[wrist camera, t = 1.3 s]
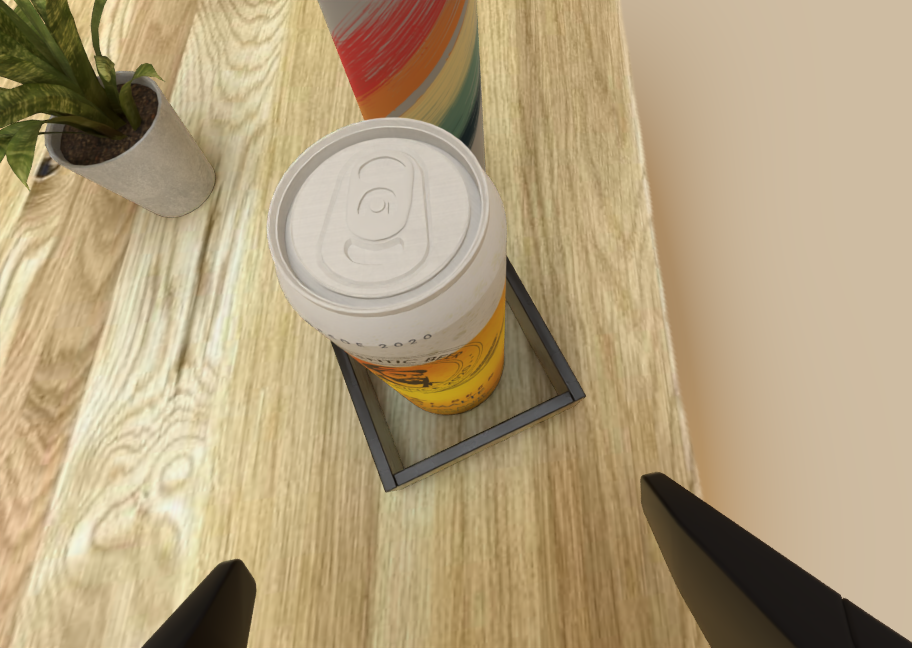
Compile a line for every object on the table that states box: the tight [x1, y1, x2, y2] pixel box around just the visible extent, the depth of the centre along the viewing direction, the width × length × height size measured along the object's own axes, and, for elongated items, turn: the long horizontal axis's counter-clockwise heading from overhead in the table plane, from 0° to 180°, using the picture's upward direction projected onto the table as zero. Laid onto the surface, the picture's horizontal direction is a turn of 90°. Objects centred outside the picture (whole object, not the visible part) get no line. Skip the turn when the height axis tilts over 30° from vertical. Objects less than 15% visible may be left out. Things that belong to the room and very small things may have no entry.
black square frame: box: [330, 255, 586, 492], centre depth 23 cm, size 10×10×3 cm
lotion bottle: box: [318, 0, 486, 172], centre depth 18 cm, size 6×6×20 cm
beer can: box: [267, 118, 507, 415], centre depth 17 cm, size 6×6×15 cm
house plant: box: [0, 0, 215, 217], centre depth 23 cm, size 14×14×16 cm
